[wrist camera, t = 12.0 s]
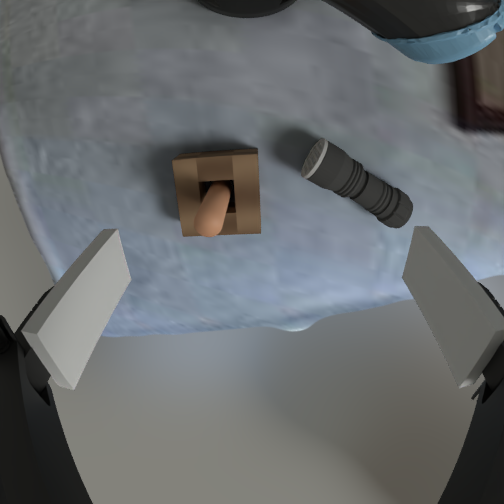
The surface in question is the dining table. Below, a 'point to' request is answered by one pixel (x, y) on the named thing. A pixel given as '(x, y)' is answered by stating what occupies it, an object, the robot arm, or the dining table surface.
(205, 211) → the peg
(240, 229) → the socket block
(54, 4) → the dining table surface
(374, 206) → the flashlight
